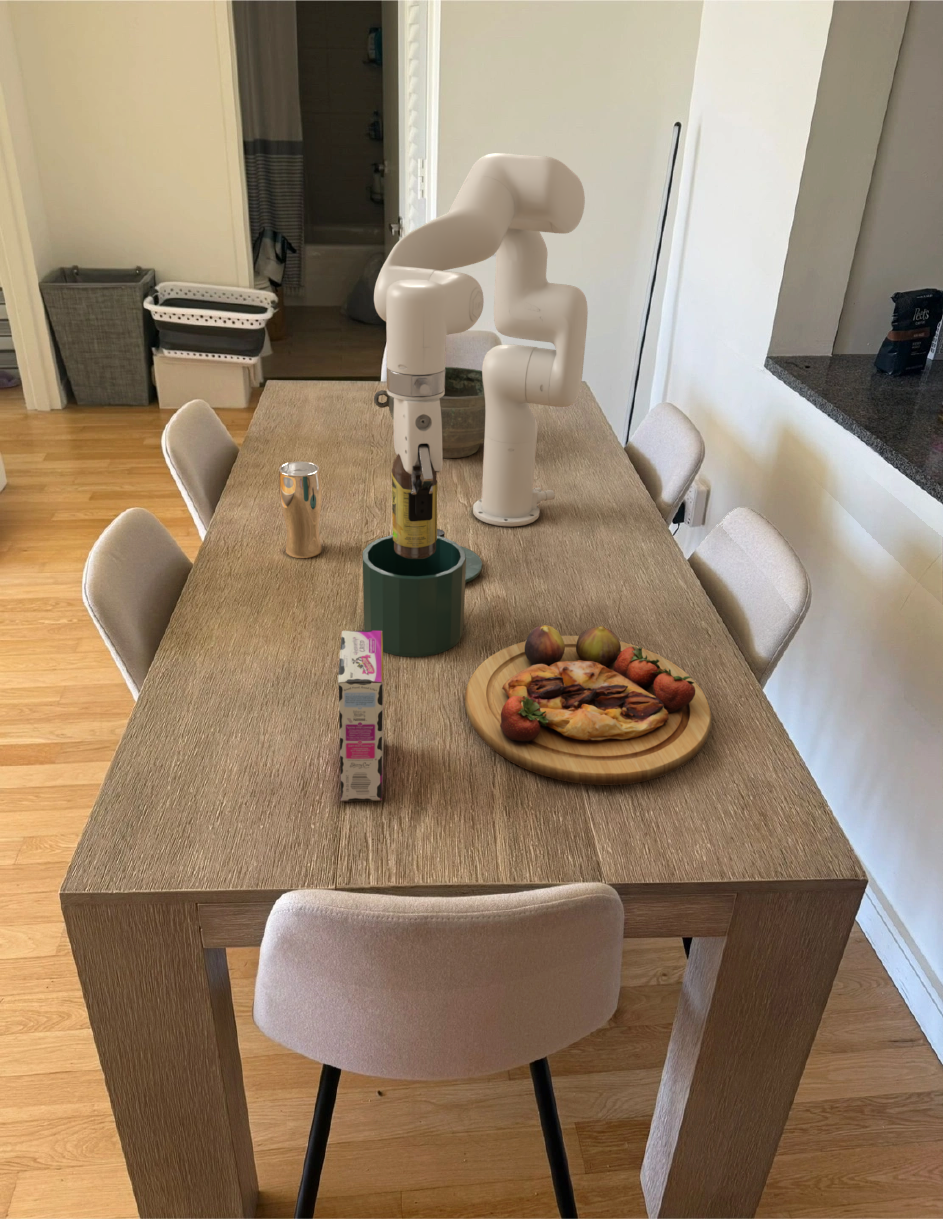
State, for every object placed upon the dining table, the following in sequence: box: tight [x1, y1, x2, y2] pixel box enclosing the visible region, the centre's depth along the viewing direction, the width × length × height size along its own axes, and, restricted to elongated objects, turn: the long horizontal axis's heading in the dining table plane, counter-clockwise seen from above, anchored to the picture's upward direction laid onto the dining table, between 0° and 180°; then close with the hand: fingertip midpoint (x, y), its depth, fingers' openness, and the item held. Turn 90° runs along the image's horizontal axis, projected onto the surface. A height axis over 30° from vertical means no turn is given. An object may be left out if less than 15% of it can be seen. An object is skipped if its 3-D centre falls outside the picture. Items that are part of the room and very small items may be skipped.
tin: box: [361, 534, 466, 658], centre depth 138 cm, size 15×15×13 cm
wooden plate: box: [464, 624, 713, 786], centre depth 122 cm, size 32×32×8 cm
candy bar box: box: [337, 630, 385, 802], centre depth 108 cm, size 11×5×16 cm, turn 5°
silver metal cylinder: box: [278, 460, 323, 559], centre depth 159 cm, size 7×7×15 cm
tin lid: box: [437, 528, 483, 584], centre depth 157 cm, size 16×16×7 cm
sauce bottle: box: [391, 420, 438, 559], centre depth 129 cm, size 6×6×20 cm
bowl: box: [373, 366, 485, 459], centre depth 206 cm, size 32×26×15 cm
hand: (414, 508), depth 131 cm, fingers closed on sauce bottle, 6 cm apart
